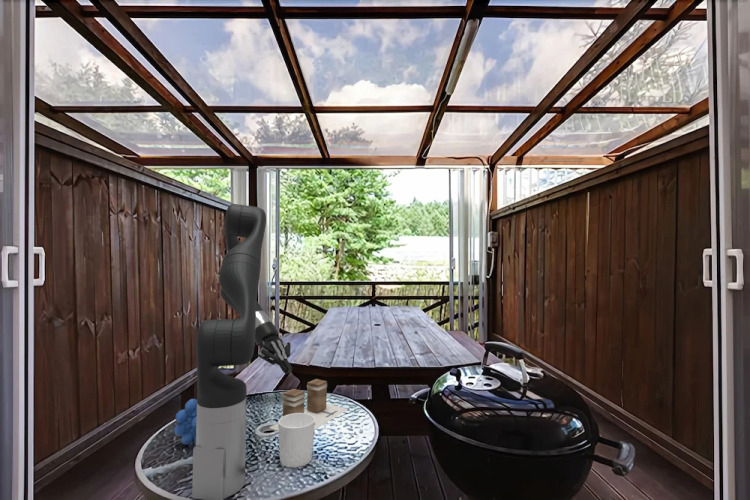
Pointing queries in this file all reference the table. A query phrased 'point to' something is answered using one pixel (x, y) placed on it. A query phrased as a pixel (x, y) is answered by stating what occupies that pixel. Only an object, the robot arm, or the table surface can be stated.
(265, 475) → the table surface
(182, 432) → the grapes
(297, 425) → the white cup
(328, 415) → the white rectangular board
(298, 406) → the two band post
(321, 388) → the one band post
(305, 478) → the table surface
